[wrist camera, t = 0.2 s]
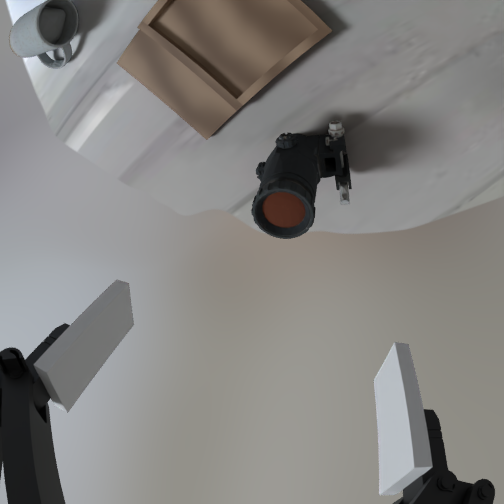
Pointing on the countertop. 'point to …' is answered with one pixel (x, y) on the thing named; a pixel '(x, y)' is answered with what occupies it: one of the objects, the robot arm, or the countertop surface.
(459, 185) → the countertop surface
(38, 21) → the ceramic mug
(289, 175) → the scope
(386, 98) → the countertop surface
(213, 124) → the wooden tray
